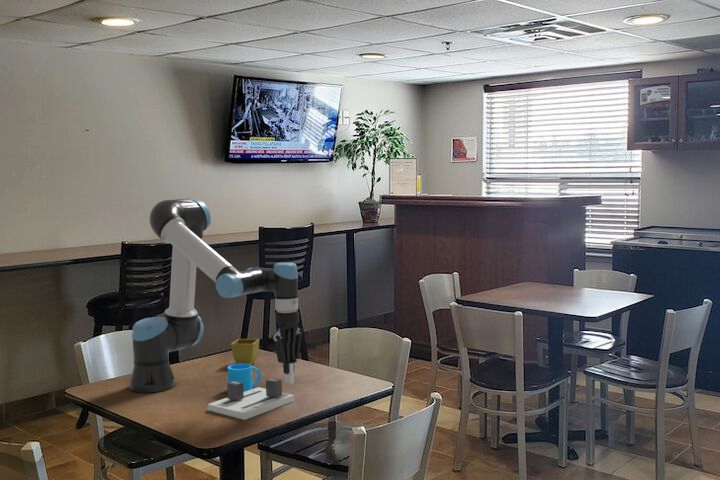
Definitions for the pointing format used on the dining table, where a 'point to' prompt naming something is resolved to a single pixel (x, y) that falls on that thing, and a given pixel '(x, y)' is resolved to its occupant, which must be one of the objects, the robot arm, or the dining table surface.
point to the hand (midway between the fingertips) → (289, 382)
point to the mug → (243, 375)
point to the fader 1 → (235, 390)
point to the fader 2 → (273, 387)
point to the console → (250, 404)
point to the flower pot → (245, 350)
